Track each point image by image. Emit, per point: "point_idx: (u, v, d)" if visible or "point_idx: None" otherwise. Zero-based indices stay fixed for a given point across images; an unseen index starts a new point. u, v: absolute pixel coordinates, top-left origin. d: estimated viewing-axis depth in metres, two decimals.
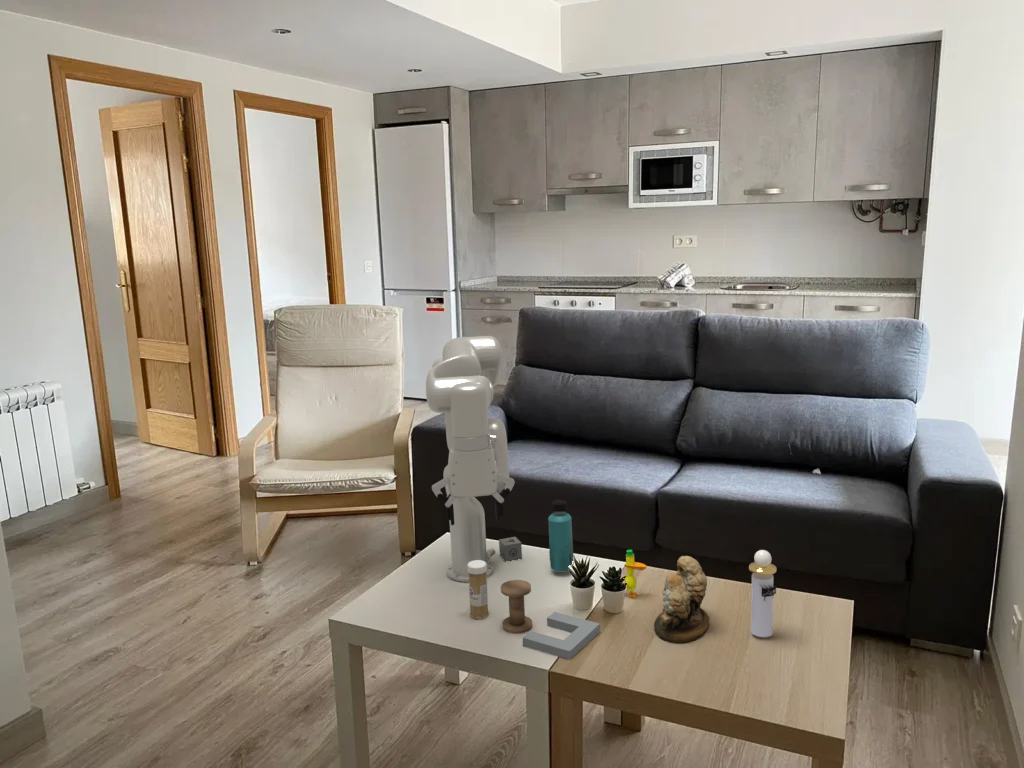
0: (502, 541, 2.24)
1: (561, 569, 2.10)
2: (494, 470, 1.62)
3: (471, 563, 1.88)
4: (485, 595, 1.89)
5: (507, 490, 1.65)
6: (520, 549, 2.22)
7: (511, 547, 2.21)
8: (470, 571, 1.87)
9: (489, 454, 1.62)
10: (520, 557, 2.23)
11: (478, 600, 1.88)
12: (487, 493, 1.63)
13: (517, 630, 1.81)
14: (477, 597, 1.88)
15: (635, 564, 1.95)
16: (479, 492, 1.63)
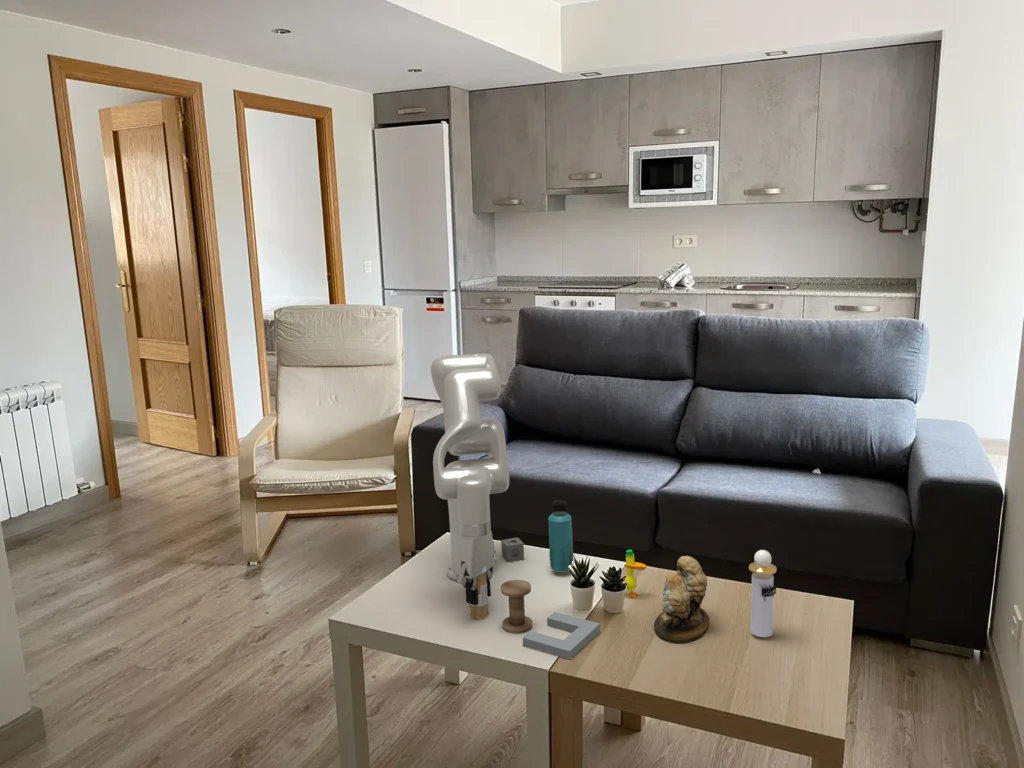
0: (504, 542, 2.23)
1: (561, 569, 2.10)
2: (493, 545, 1.90)
3: None
4: (485, 595, 1.89)
5: (491, 567, 1.92)
6: (522, 550, 2.22)
7: (513, 548, 2.21)
8: None
9: (491, 533, 1.89)
10: (522, 558, 2.22)
11: (478, 600, 1.88)
12: (490, 567, 1.90)
13: (517, 630, 1.81)
14: None
15: (635, 564, 1.95)
16: (486, 568, 1.88)
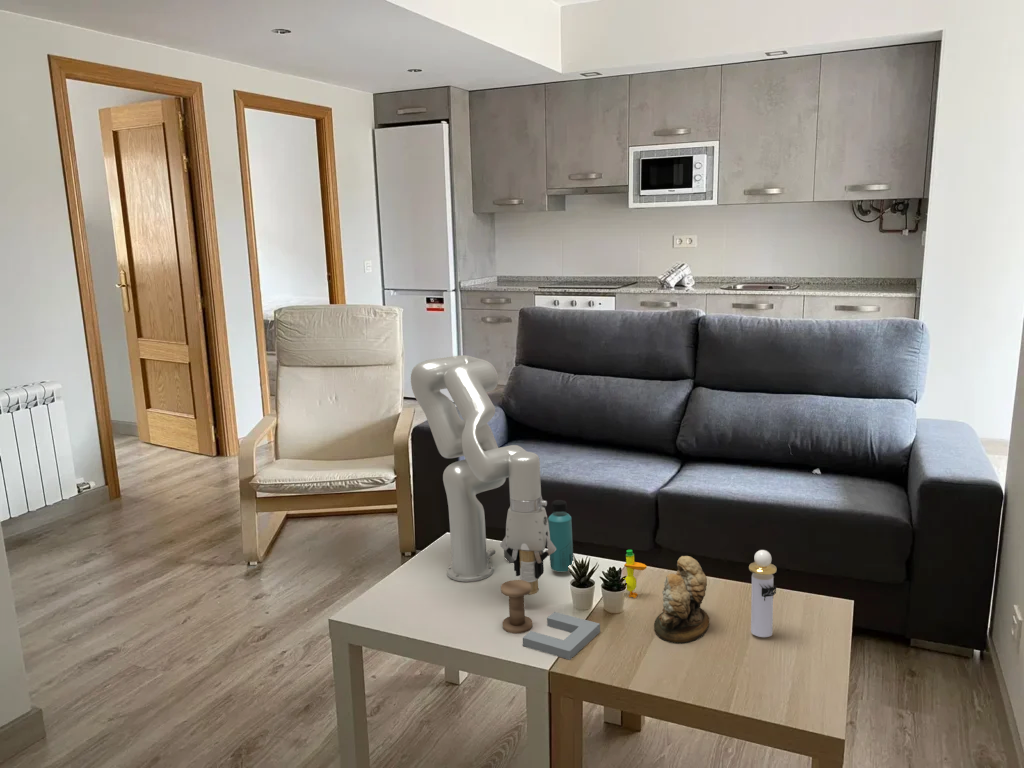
0: None
1: (561, 569, 2.10)
2: (541, 531, 1.87)
3: None
4: (525, 573, 1.90)
5: (545, 553, 1.89)
6: None
7: None
8: None
9: (537, 516, 1.87)
10: None
11: (520, 573, 1.92)
12: (535, 549, 1.88)
13: (517, 630, 1.81)
14: None
15: (635, 564, 1.95)
16: (528, 547, 1.89)
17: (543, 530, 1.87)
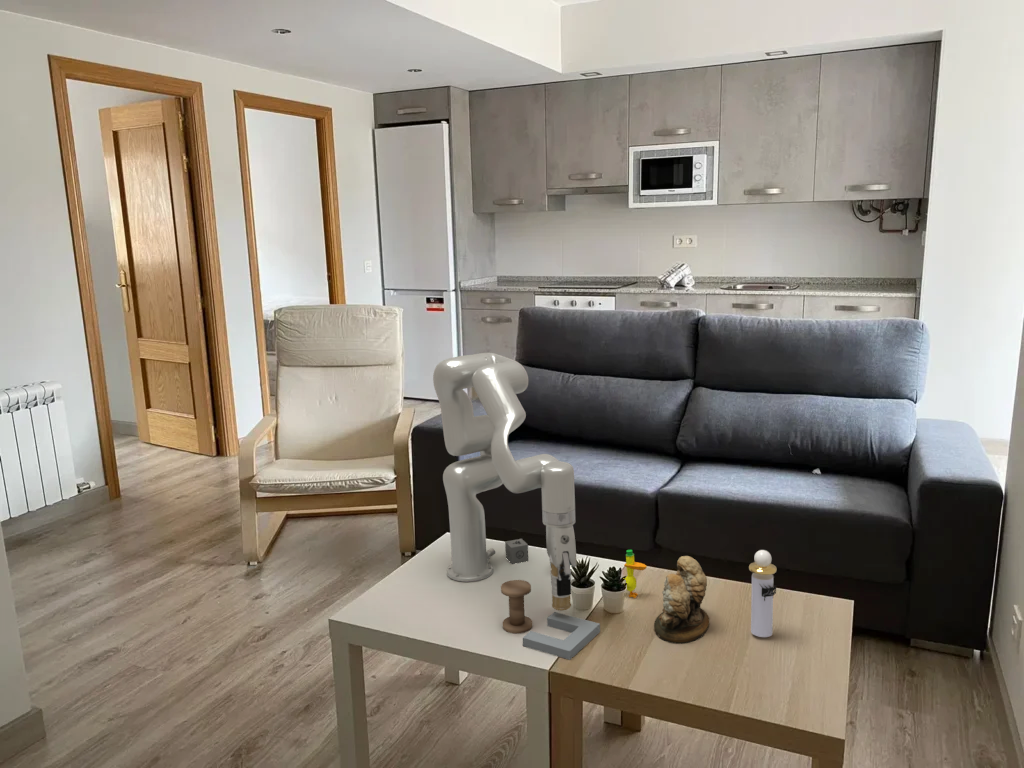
0: (508, 543, 2.22)
1: None
2: (555, 547, 1.77)
3: None
4: (552, 585, 1.83)
5: (562, 573, 1.78)
6: (527, 551, 2.21)
7: (517, 549, 2.20)
8: None
9: (554, 531, 1.77)
10: (527, 559, 2.21)
11: None
12: (554, 565, 1.80)
13: (517, 630, 1.81)
14: None
15: (635, 564, 1.95)
16: (552, 560, 1.81)
17: (558, 548, 1.77)
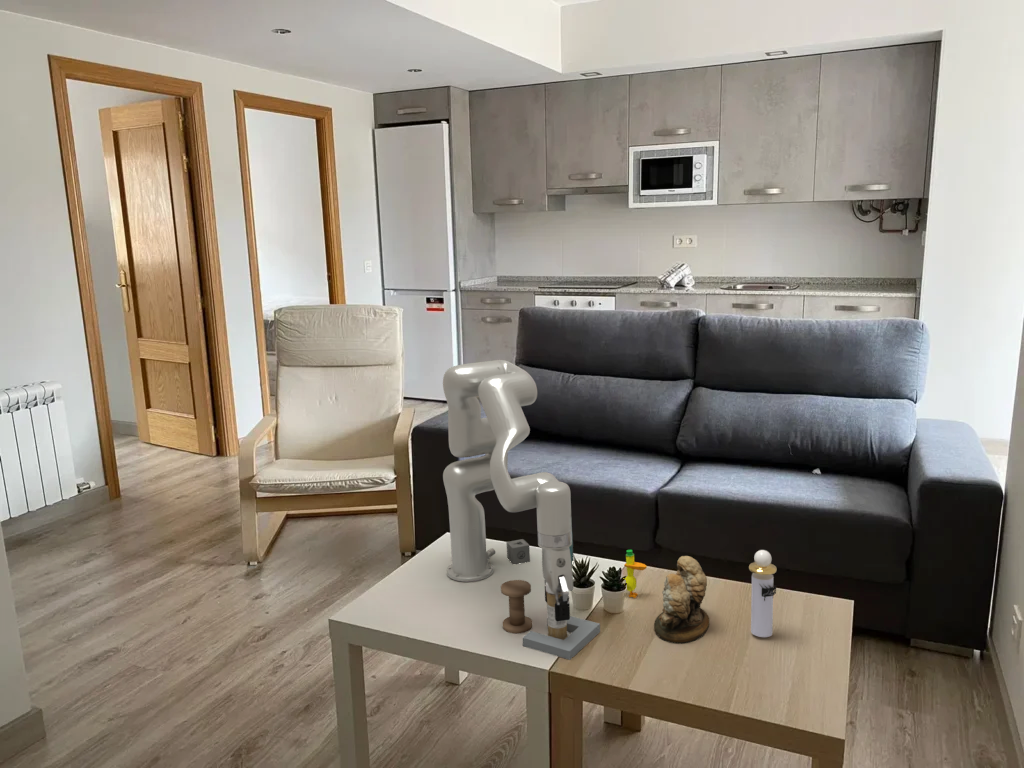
0: (510, 544, 2.22)
1: None
2: (551, 571, 1.71)
3: None
4: (547, 615, 1.77)
5: (560, 597, 1.70)
6: (528, 551, 2.20)
7: (519, 550, 2.19)
8: None
9: (549, 554, 1.71)
10: (528, 560, 2.21)
11: None
12: (550, 588, 1.73)
13: (517, 630, 1.81)
14: None
15: (635, 564, 1.95)
16: (548, 584, 1.75)
17: (554, 571, 1.70)
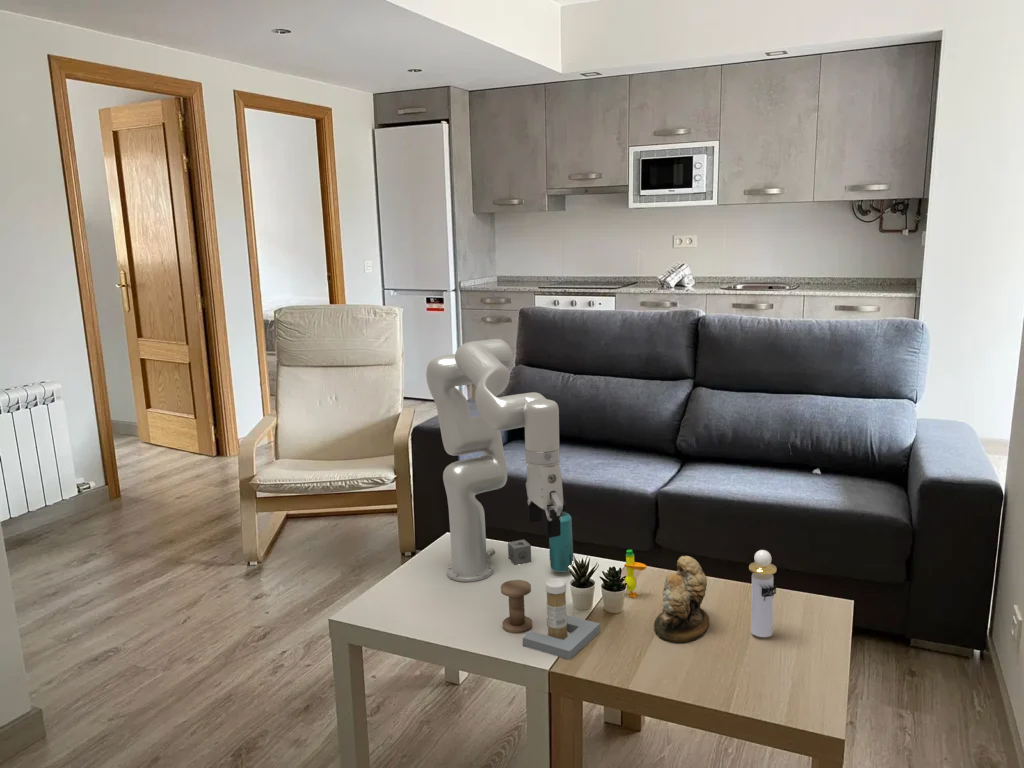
0: (511, 544, 2.21)
1: (561, 569, 2.10)
2: (543, 487, 1.70)
3: (559, 580, 1.77)
4: (547, 615, 1.77)
5: (553, 512, 1.69)
6: (529, 552, 2.20)
7: (520, 550, 2.19)
8: None
9: (540, 471, 1.70)
10: (529, 560, 2.21)
11: None
12: (540, 506, 1.73)
13: (517, 630, 1.81)
14: None
15: (635, 564, 1.95)
16: (536, 502, 1.74)
17: (545, 487, 1.70)
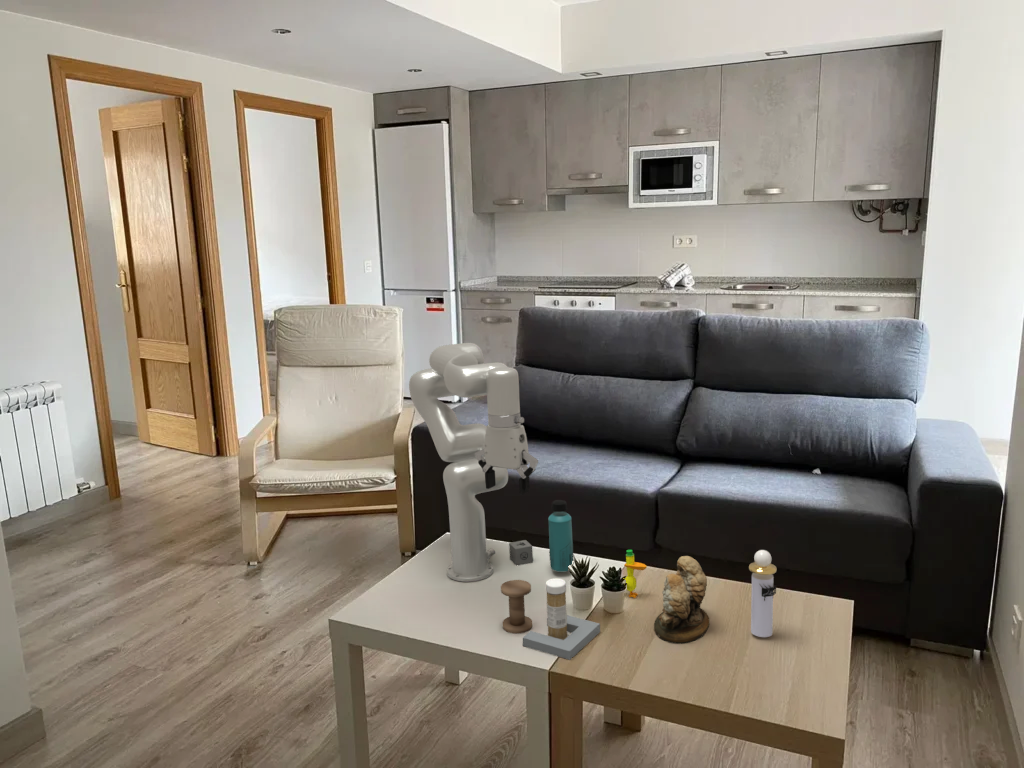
0: (512, 544, 2.21)
1: (561, 569, 2.10)
2: (516, 448, 1.82)
3: (559, 580, 1.77)
4: (547, 615, 1.77)
5: (529, 468, 1.82)
6: (531, 552, 2.20)
7: (521, 551, 2.19)
8: None
9: (512, 433, 1.82)
10: (531, 560, 2.20)
11: None
12: (510, 467, 1.84)
13: (517, 630, 1.81)
14: None
15: (635, 564, 1.95)
16: (504, 465, 1.85)
17: (518, 447, 1.82)
